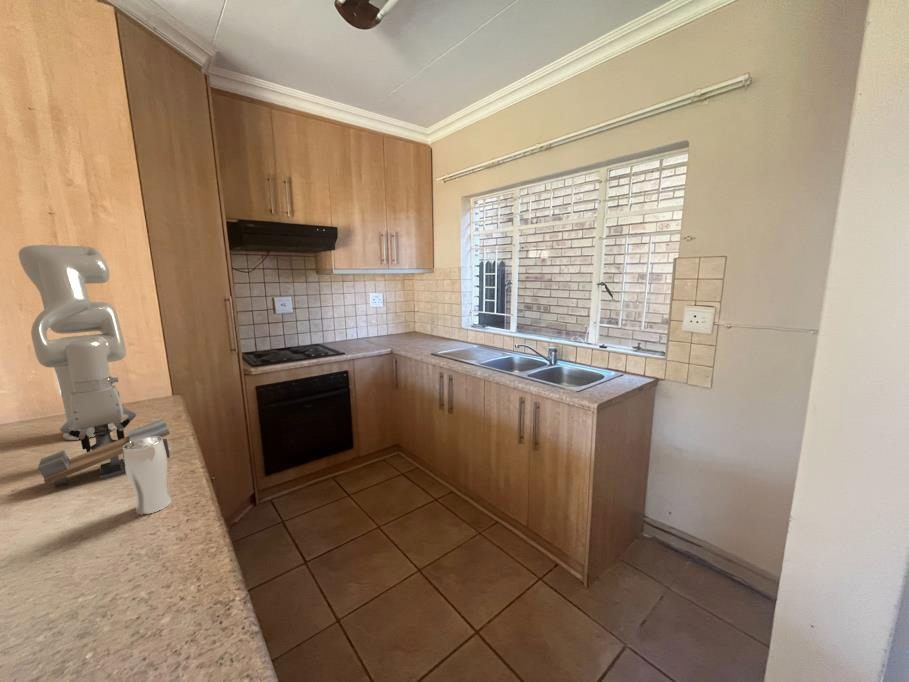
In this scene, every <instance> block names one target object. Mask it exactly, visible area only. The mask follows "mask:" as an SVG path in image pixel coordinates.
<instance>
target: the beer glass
mask: <svg viewBox="0 0 909 682" xmlns="http://www.w3.org/2000/svg"><path fill="white" fill-rule="evenodd" d="M163 439H164V438H163V437H160V436H148V437H143V438H139V439H136V440H133V441H130V442H128V443H126V444H125V445H124V446H123V447H122V449H123V454H122V457H123V458H122V459H123V460H124V467H125V471H126V473H125V474H126V476H127V479H128V482H129V484H130V486H131V489H133V492H134V495H135V513H136V514H137V515H139V514H140V515H141V516H144V515H143V514H147V515H151V514H150V513H152V514H155V513H157V511H158V512H160V511H162V510H164V509H165V507H166V508H167V507H168V506H170V504H171V503H172V498H171V496H170V494H169V492H168V491H169V490H168V488H167V486H168V485H167V480H168V479H167V476H168V458H167V455H166V450H165V446H164V443H163ZM159 510H160V511H159ZM154 512H155V513H154Z"/></svg>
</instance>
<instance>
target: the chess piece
mask: <svg viewBox="0 0 909 682" xmlns="http://www.w3.org/2000/svg"><path fill="white" fill-rule="evenodd" d="M94 430H95V432H94V433H93V434H94V435H95V437H94V438H95V443H94V444H92V445H90V446H91V447H90V449H91V451H92V450H94V449H97V448H100V447H102V446H105V445H107V444H110V443H112V442H115V441H118V439H113V438H112V436H111V432H112V431H111V429H109V427H108V424H106V425H101V426H96V427H94Z"/></svg>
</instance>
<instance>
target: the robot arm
mask: <svg viewBox="0 0 909 682" xmlns="http://www.w3.org/2000/svg"><path fill="white" fill-rule="evenodd" d="M18 258H19V261H20V265H21V267H22V269H23V271H24V273H25V275H26V276H27V277H28V278H29V280H30V281H31V282H32V284H33V285H34V286H35V287H36V288H37V290H38V292H39V295H40V298H41V302H42V306H43V309H44V310H42V311H41V312H40V313H39V314H38V315H37V316H36V318H35V320H34V321H33V322H32V326H31V330H30V333H31V334H30V335H31V339H32V344H33V348H34V353H35V357H36V359H37V361H38V362H39V364H40V365H41V366H42V367H45V368H53V369H54V371H55V374H56V377H57V381H58V386H59V390H60V394H61V400H62V403H63V409H64V413H65V417H66V418H65V419H66V422H65V423H64V424H63V425H61V427H60V428H59V431H60V432H62V433H63V434H62V438H63V439H64V440H65V441H66V440H67V441H79V439H80V443H81V447H82V450H83V451H84V450H85V451H86V453H87V452H89V451H92V449H90V447H91V446H92V445H91V441H90V439H91V438H95V437H94V436H95V435H94V434H93V433H94V432H95V430H94V427H96V426H101V425H106V424H108V427H109V429H111V430H112V431H114V430H116V437H117V440H120V439H123V438H125V437H126V436H125V432H124V429H125V428H126V427H127V426H129V424H130V423H131V422H132V421H133V419H135V418H136V417H137V413H136V412H135V411H133V410H131V409H128V408H127V407H124V406H123V403H122V397H121V395H120V391H119V389H118V387H117V385H114V384H115V383H119V377H118V376H116V377H113V376H111V373H110V369H109V368H110V367H109V363H112V362H117V361H118V362H119V361H121V360H123V359H124V358H125V357H126V354H127V347H126V344H125V340H124V337H123V336H124V335H123V333H122V328H121V325H120V321H119V317H118V314H117V311H116V309H115V307H114V306H113V305H112V304H110V303H108V302H105V301H94V302H93V301H92V302H91V300H90V298H89V293H88V290H87V286H86V284H89V285H90V284H105V283H107V282H108V281H109V280H110V270H109V266H108V264H107V261H106V259H104V257H103V256H102V254H101V252H99V251H98V249H97V248H96V247H91V246H83V245H82V246H78V245H57V244H34V245H27V246H24V247H22V248H20V249H19V251H18ZM49 328H50V330H51V331H52V332H53V333H54V334H55V333H56V334H59V335H60V334H61V335H63V334H66V335H67V334H68V335H69V334H80V333H90V332H100V333H98V334H89V335H87V334H85V335H75V336H68V337H61V338H57V339H56V338H55V339H54V338H53V339H48V336H47V331H48V330H49ZM125 415H127V417H126V418H125V419H124V417H125ZM122 420H123V421H122ZM114 428H115V429H114ZM113 429H114V430H113ZM90 437H91V438H90Z"/></svg>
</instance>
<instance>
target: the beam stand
mask: <svg viewBox="0 0 909 682" xmlns="http://www.w3.org/2000/svg"><path fill="white" fill-rule="evenodd" d="M162 439H163V443H164V446H165V450H166V455H167V457H168V458H170V450H169V443H168V439H167V438H162ZM119 456H120V455H118V456H115V457H113V458H110V459H109V462H105V463H101V464H100V466H99V467H100V469H99V479H100V481H103V480H105V479H109V478H112V477H113V478H114V477H116V476H120V475H123V473H124V474H126V471H125V467H124V460H123V458H121V459H120V458H119ZM53 485H54V489H57V488H61V487H64V486H67V485H68V476H66V477H64V478H62V479H59V480H57V481H54V482H53Z"/></svg>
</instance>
